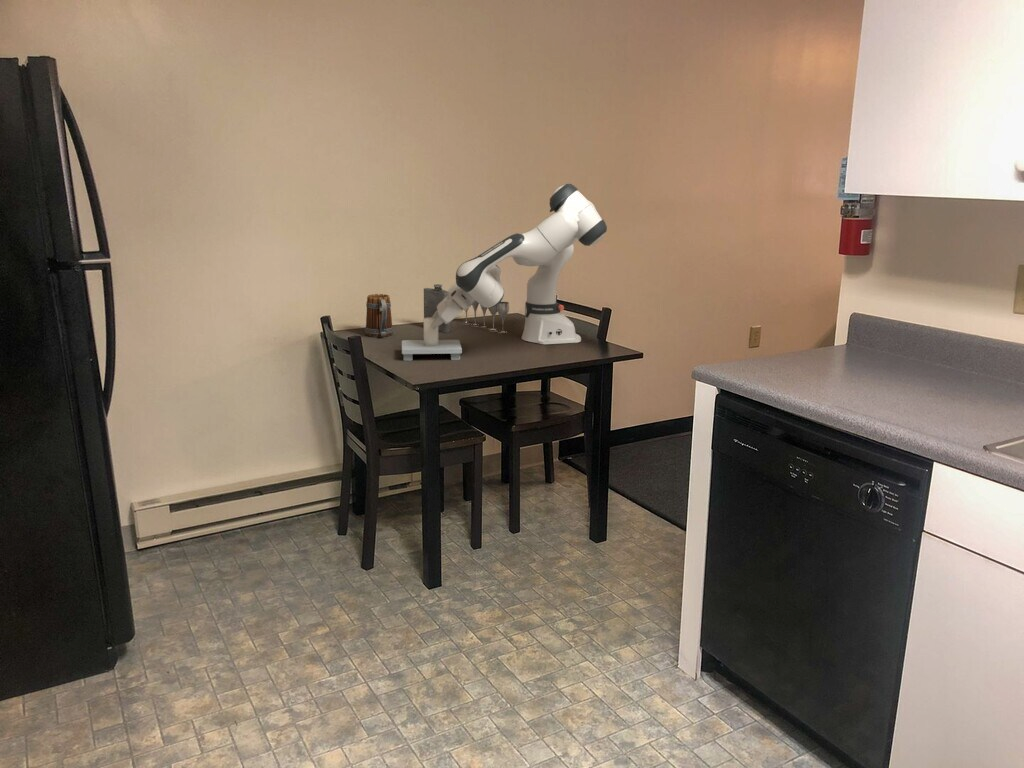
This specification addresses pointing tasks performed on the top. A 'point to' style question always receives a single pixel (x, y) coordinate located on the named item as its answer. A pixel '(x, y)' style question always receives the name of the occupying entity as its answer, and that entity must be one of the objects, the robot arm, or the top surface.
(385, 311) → the mug
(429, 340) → the white rounded cylinder
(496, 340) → the top surface
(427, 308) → the flask
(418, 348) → the shelf
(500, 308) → the goblet set
